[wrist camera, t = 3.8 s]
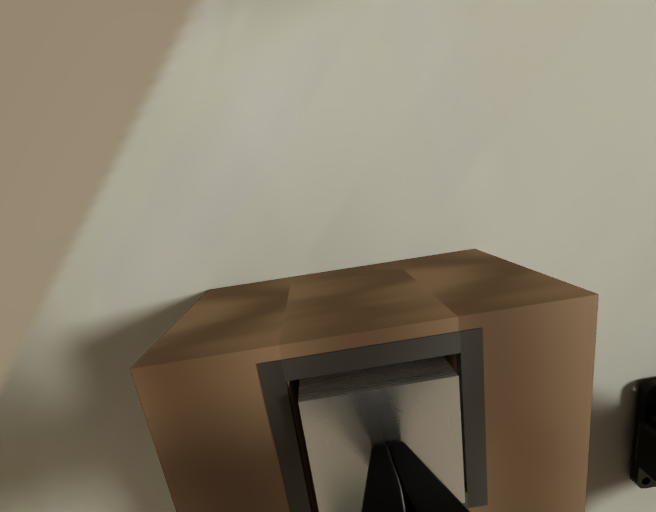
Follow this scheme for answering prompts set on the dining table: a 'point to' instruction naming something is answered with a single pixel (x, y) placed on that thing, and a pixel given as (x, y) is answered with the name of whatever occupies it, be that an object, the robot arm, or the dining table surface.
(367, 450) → the steel peg
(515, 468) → the walnut block
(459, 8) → the dining table surface
